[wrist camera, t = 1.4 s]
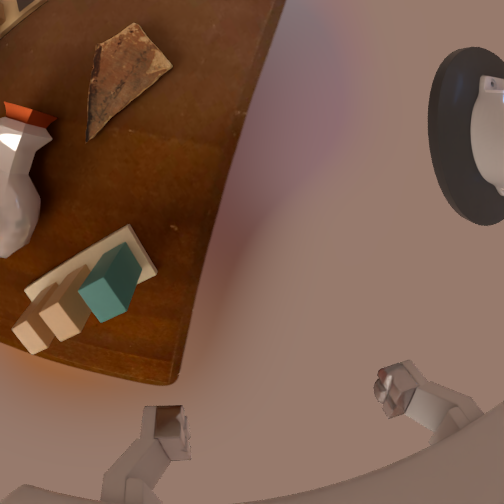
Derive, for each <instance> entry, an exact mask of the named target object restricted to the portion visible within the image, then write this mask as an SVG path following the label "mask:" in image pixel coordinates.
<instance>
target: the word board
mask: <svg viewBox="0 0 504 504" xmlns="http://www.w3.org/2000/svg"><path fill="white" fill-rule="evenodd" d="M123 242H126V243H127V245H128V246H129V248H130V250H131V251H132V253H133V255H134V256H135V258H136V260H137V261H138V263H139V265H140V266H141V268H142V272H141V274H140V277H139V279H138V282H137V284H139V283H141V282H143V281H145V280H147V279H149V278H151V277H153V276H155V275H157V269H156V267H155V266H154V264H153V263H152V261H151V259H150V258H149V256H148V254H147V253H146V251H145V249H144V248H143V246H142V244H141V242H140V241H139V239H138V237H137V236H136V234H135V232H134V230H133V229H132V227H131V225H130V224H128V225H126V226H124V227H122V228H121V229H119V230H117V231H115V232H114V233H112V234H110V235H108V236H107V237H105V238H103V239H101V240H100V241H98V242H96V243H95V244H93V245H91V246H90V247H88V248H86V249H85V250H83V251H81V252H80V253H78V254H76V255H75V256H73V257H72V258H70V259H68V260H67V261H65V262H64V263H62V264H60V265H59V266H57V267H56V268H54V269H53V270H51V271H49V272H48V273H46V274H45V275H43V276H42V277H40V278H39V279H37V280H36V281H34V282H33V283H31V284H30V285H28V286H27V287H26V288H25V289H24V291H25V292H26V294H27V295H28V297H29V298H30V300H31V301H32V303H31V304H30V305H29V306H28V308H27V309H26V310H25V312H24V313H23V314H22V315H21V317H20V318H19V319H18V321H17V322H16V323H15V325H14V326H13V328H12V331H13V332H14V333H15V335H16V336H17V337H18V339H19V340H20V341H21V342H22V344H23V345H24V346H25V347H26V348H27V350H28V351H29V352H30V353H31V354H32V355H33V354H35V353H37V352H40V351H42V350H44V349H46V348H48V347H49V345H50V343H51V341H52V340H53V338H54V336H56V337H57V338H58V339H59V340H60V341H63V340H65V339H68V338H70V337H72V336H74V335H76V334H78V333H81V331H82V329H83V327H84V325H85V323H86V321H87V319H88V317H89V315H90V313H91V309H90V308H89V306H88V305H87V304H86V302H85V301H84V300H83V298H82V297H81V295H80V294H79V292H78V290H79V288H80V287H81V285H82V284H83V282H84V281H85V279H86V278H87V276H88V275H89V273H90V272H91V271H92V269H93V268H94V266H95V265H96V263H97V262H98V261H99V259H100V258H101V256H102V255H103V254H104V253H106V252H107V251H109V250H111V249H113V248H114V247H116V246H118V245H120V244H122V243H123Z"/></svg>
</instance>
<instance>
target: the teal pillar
mask: <svg viewBox="0 0 504 504" xmlns="http://www.w3.org/2000/svg"><path fill="white" fill-rule="evenodd" d="M141 272H142V268H141V266H140V265H139V263H138V261H137V260H136V258H135V256H134V255H133V253H132V251H131V250H130V248H129V246H128V245H127V243H126V242H123V243H122V244H120V245H118V246H116V247H114V248H113V249H111V250H109V251H107V252H106V253H104V254H103V255H102V256H101V258H100V259H99V261H98V262H97V263H96V265H95V266H94V268H93V269H92V271H91V272H90V273H89V275H88V276H87V278H86V279H85V281H84V282H83V284H82V285H81V287H80V288H79V290H78V292H79V294H80V295H81V297H82V298H83V300H84V301H85V302H86V304H87V305H88V306H89V308H90V309H91V311H92V312H93V313H94V315H95V316H96V317H97V319H98V320H99V321H100V322H101V323H102V322H104V321H106V320H109V319H111V318H113V317H115V316H117V315H119V314H121V313H124V312H126V311H127V310H128V307H129V304H130V301H131V298H132V296H133V293H134V290H135V287H136V285H137V282H138V279H139V277H140V274H141Z"/></svg>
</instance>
